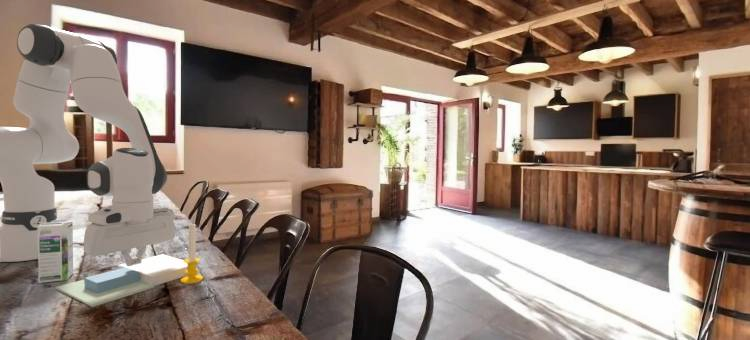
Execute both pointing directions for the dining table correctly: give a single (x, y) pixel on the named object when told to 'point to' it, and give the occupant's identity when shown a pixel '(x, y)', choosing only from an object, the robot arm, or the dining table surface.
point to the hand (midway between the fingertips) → (133, 264)
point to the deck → (159, 269)
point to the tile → (111, 280)
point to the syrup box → (55, 251)
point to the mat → (96, 299)
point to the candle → (192, 259)
